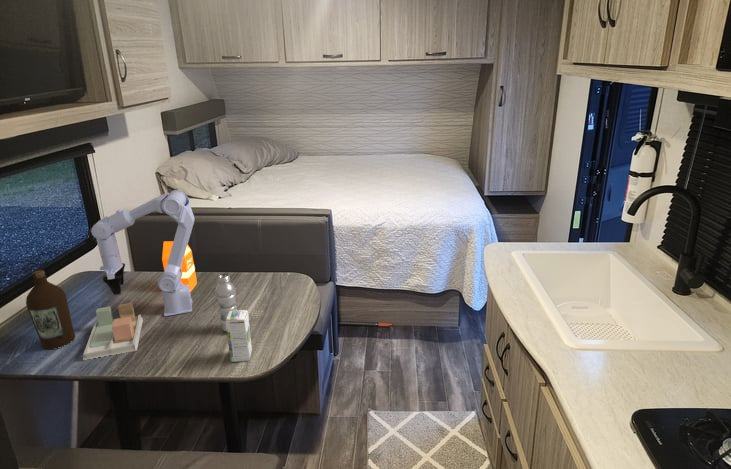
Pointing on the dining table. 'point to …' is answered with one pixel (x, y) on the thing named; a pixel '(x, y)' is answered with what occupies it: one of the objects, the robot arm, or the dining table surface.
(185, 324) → the dining table surface
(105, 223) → the robot arm
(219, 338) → the dining table surface
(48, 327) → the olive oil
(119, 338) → the block
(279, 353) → the dining table surface
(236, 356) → the syrup box
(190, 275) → the orange juice
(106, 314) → the strip
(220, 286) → the plastic bottle
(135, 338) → the lane board
